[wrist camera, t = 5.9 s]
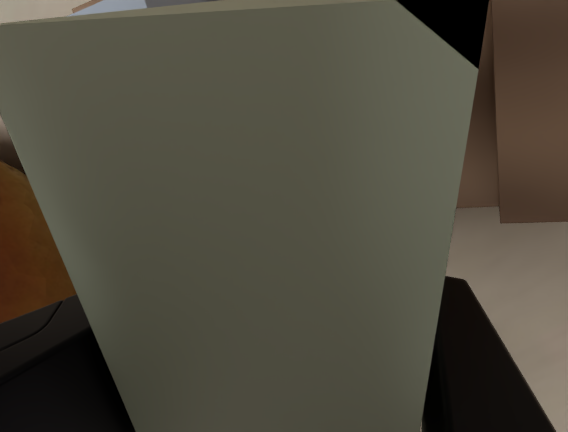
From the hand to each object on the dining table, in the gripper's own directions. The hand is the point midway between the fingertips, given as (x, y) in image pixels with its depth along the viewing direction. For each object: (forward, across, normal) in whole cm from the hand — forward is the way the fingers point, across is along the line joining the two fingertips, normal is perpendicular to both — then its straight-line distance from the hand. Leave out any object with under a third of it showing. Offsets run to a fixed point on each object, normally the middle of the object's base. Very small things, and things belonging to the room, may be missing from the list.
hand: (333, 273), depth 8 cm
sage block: (+1, 0, 0) cm, 1 cm away
